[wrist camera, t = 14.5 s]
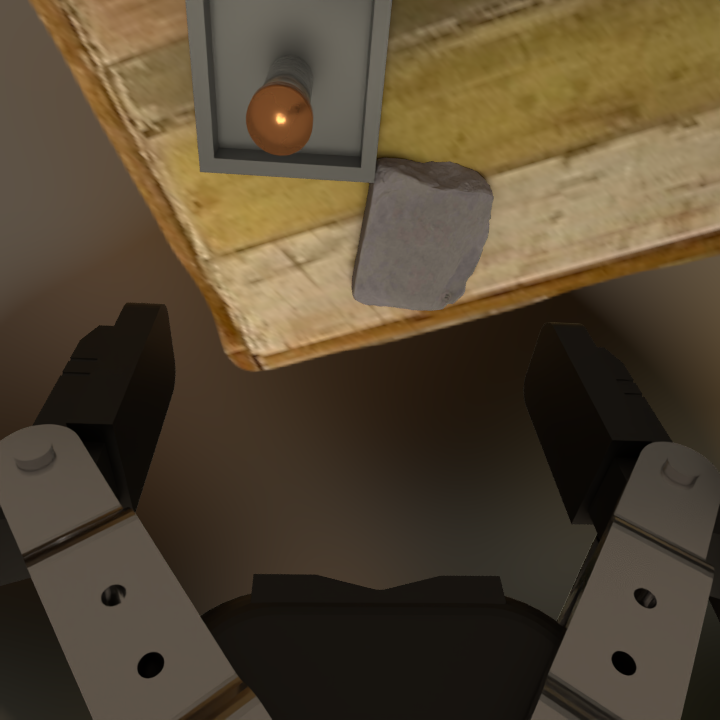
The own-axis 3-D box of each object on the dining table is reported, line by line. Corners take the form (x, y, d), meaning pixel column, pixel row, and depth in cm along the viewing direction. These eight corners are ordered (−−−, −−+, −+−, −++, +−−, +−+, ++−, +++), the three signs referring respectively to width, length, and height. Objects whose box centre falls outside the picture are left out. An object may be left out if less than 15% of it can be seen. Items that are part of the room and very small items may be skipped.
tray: (389, -24, 37) (393, -19, 34) (371, 167, 44) (373, 182, 42) (191, -43, 36) (182, -38, 33) (207, 156, 43) (200, 171, 41)
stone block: (486, 156, 46) (363, 149, 43) (512, 184, 42) (379, 177, 40) (448, 285, 53) (341, 285, 51) (468, 317, 50) (354, 319, 47)
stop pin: (319, 52, 38) (314, 90, 31) (316, 110, 41) (311, 158, 33) (263, 47, 38) (244, 84, 31) (263, 105, 40) (246, 152, 33)
